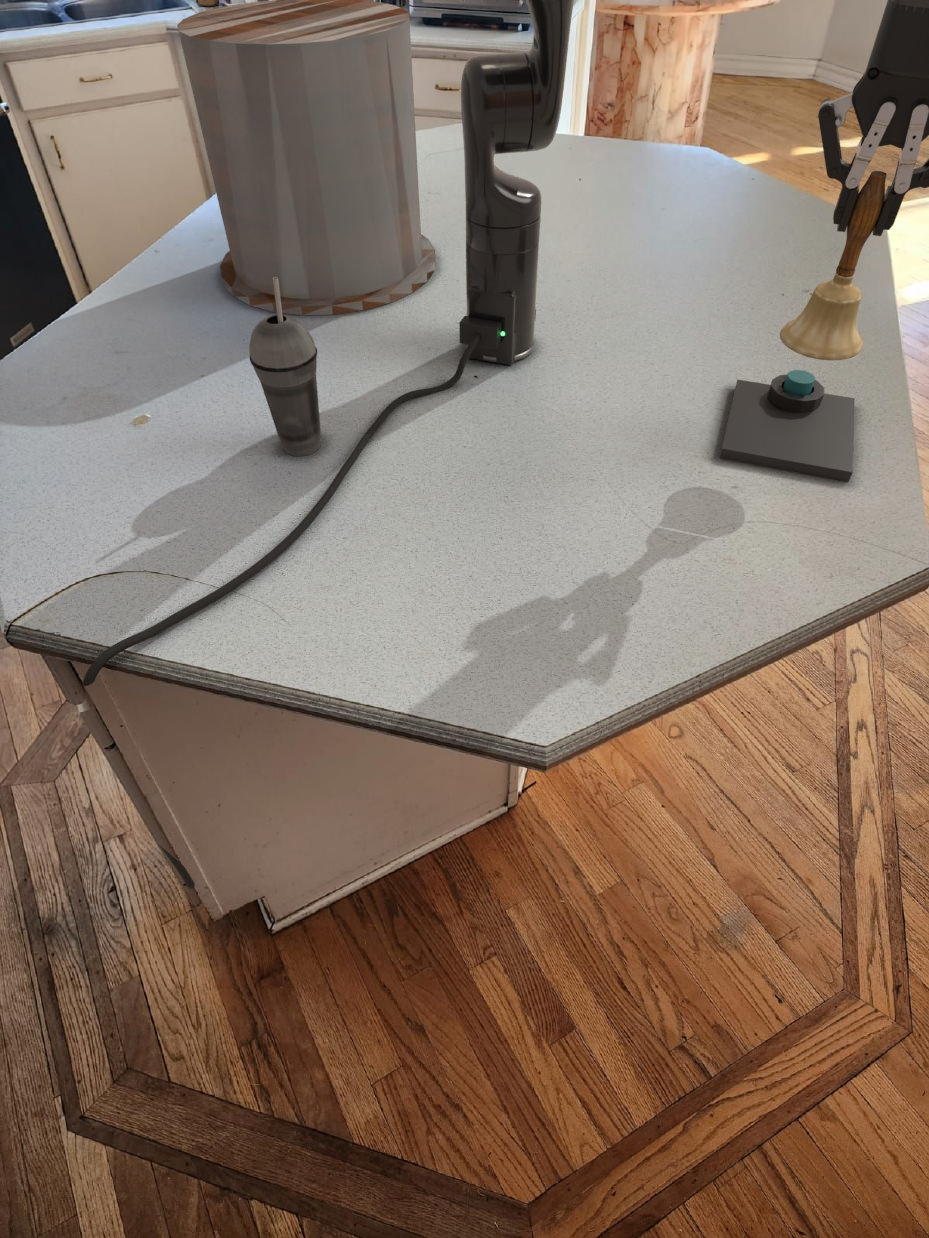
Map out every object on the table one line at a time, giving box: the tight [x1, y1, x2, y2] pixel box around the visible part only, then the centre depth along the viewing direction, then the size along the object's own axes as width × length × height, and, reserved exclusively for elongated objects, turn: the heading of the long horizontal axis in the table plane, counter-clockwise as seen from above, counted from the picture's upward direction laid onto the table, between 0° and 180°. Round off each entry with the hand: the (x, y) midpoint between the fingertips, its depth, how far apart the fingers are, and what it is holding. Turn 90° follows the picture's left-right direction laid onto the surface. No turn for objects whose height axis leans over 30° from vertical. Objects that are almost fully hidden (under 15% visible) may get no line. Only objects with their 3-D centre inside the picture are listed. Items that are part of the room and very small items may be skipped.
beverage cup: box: [249, 277, 322, 457], centre depth 83 cm, size 7×7×20 cm
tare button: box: [783, 369, 816, 396], centre depth 91 cm, size 3×3×2 cm
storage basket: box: [177, 0, 437, 316], centre depth 113 cm, size 35×35×32 cm
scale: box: [718, 373, 856, 483], centre depth 89 cm, size 16×14×3 cm
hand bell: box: [779, 170, 887, 361], centre depth 73 cm, size 8×8×16 cm
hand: (859, 230), depth 71 cm, fingers closed on hand bell, 2 cm apart
